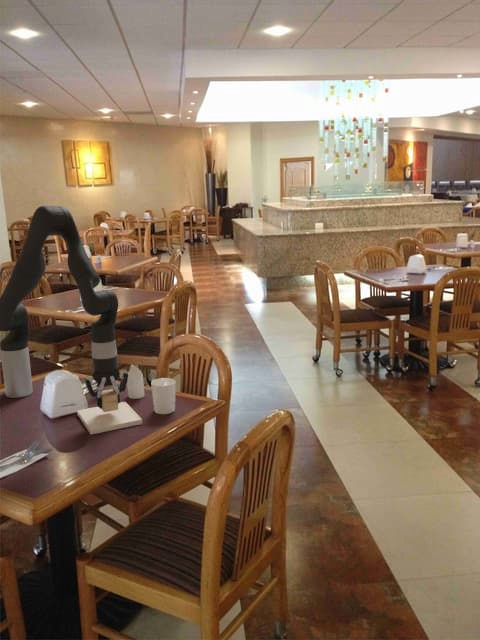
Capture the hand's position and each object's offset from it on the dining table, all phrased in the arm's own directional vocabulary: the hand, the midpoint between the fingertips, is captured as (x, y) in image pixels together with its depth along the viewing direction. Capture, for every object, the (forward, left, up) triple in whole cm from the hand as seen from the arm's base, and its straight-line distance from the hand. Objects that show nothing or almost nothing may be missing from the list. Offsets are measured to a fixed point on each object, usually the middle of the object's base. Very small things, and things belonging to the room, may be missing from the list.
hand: (108, 406), depth 180 cm
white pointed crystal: (-16, +14, -5) cm, 22 cm away
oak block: (0, 0, -1) cm, 1 cm away
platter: (0, 0, -4) cm, 4 cm away
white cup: (+2, +18, -5) cm, 19 cm away
